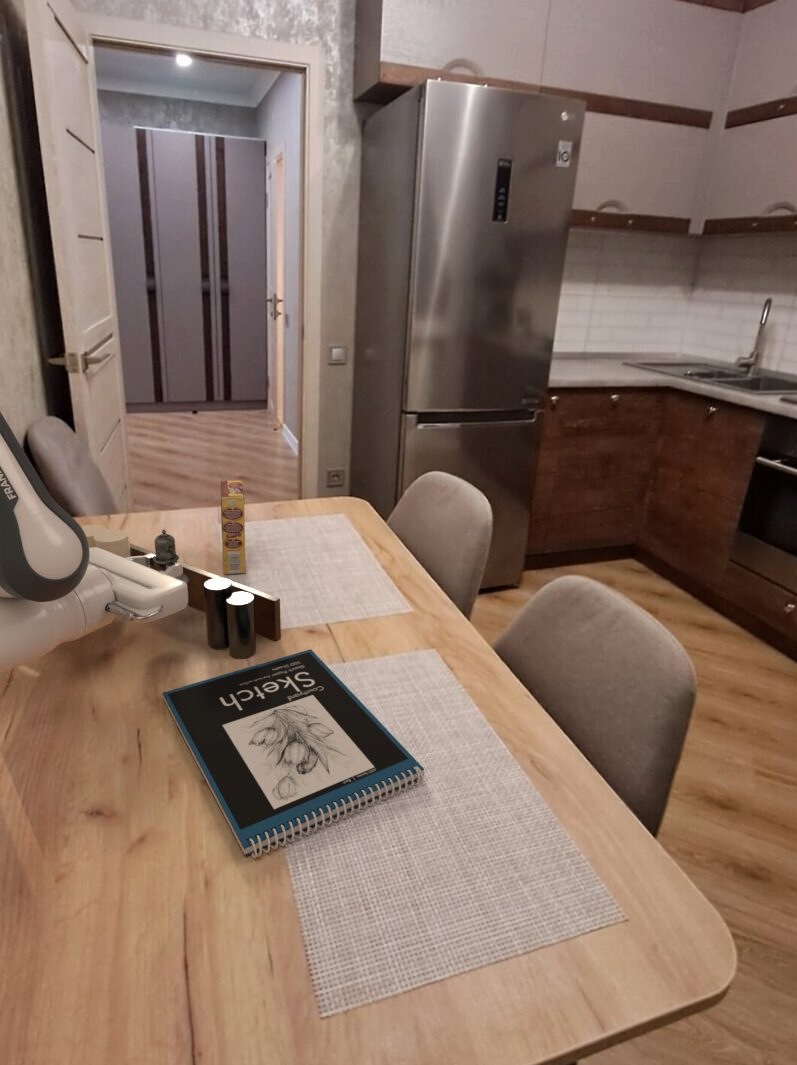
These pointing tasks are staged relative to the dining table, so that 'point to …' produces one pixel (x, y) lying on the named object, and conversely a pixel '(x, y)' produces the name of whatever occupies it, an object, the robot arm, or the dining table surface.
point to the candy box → (233, 527)
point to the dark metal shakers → (230, 618)
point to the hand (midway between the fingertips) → (167, 562)
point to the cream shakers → (108, 539)
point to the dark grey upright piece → (166, 553)
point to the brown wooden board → (264, 603)
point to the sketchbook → (287, 748)
